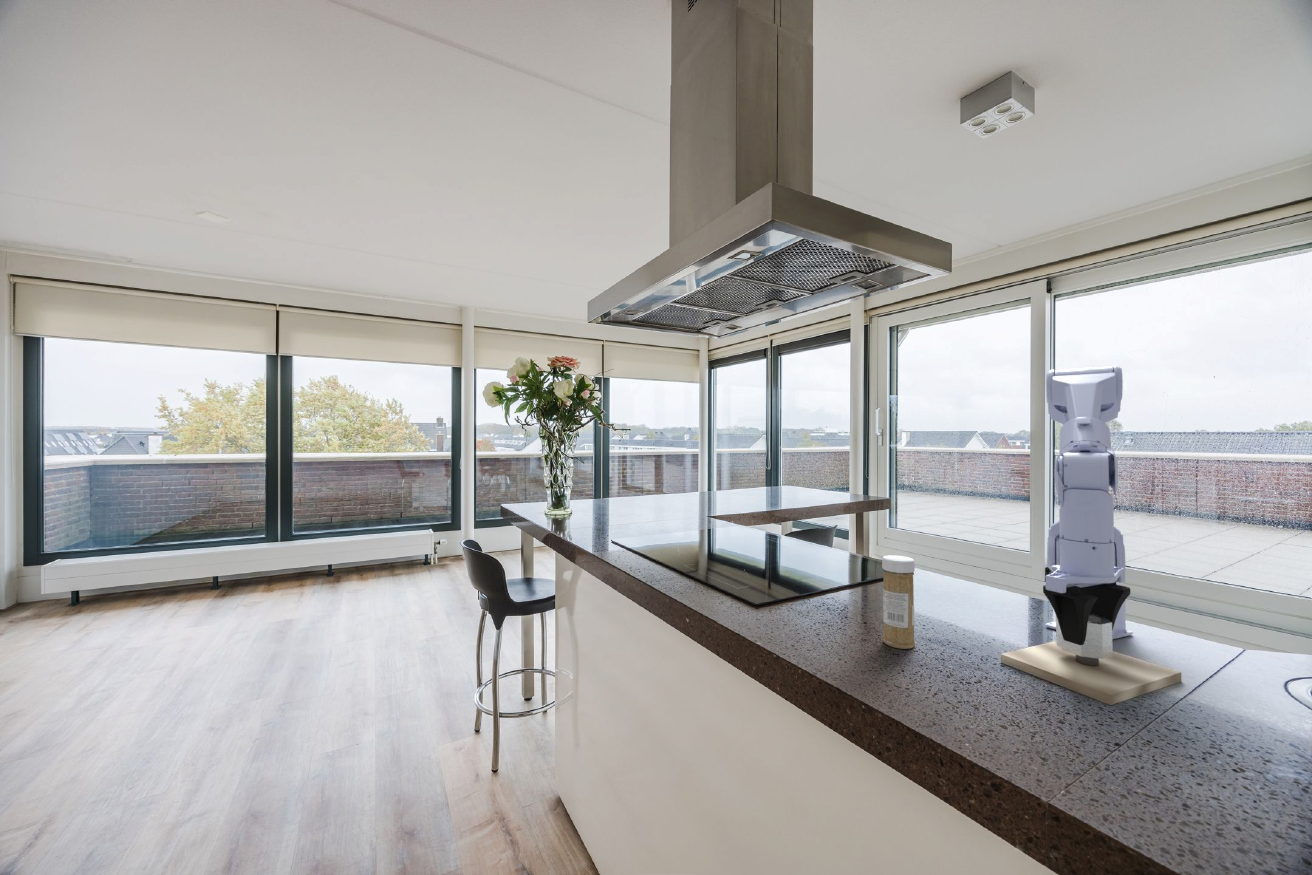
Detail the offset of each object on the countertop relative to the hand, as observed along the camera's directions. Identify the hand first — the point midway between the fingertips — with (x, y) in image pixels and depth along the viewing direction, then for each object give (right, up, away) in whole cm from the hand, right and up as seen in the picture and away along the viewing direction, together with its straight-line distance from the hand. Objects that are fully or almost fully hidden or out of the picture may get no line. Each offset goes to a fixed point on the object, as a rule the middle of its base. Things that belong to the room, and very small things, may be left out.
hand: (1087, 639), depth 70 cm
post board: (0, -4, 0) cm, 4 cm away
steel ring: (0, -2, 0) cm, 2 cm away
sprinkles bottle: (-21, -5, +9) cm, 24 cm away
